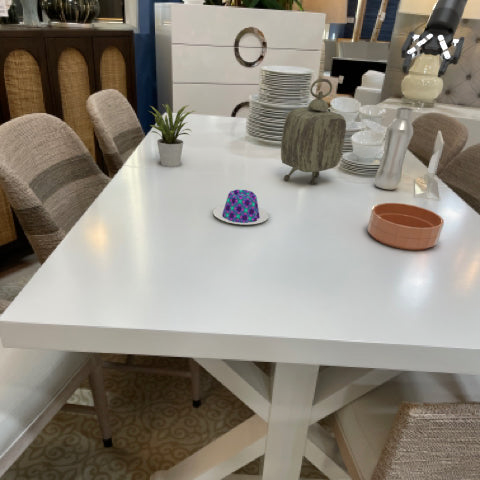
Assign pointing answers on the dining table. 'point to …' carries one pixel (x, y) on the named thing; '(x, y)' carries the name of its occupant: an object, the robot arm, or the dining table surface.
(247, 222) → the pudding
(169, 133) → the house plant
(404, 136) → the plastic bottle
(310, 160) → the tabletop clock
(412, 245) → the pan
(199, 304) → the dining table surface
